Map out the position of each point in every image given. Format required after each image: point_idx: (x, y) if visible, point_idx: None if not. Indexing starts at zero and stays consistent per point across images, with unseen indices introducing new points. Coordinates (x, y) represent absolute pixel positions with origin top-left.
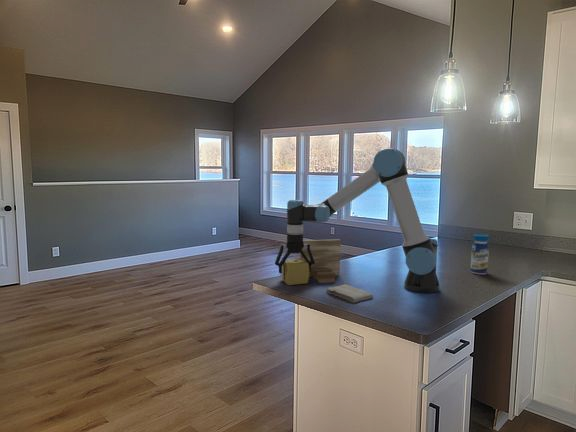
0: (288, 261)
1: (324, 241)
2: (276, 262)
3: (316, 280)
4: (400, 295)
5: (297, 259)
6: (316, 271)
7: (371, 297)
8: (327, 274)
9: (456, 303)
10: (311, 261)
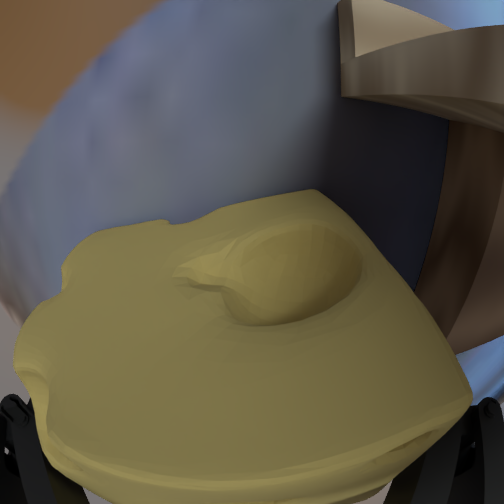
0: (119, 494)
1: None
2: (16, 461)
3: (424, 266)
4: (488, 391)
5: (329, 486)
6: (482, 271)
7: None
8: (477, 345)
9: (501, 400)
10: (465, 440)
